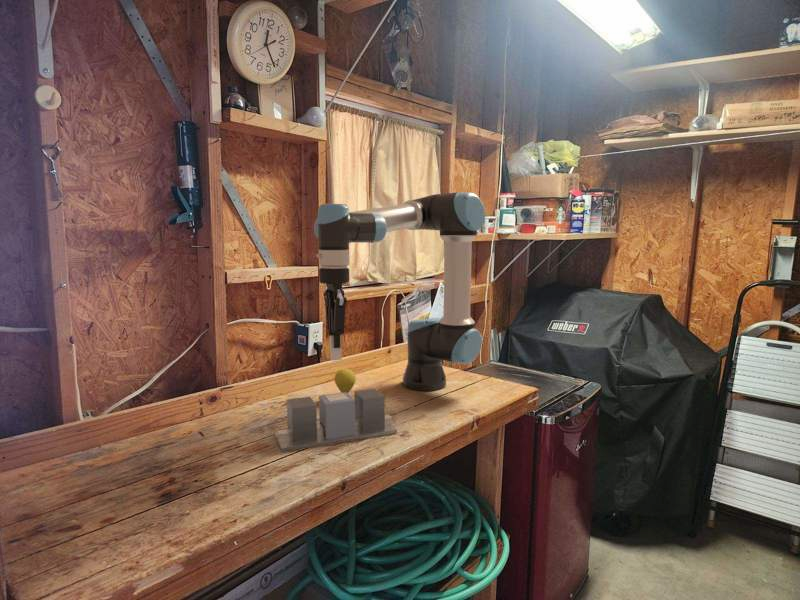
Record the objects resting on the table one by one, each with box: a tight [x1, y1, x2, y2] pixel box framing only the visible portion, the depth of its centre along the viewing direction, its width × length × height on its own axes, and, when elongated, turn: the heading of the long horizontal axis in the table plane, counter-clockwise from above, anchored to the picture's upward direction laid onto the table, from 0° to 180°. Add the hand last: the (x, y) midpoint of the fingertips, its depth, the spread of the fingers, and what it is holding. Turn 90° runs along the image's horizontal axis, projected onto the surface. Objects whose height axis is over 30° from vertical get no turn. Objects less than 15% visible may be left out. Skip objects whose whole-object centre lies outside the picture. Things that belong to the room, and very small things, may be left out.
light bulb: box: [334, 368, 357, 396], centre depth 156 cm, size 7×7×10 cm
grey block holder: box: [274, 388, 398, 453], centre depth 129 cm, size 30×10×10 cm, turn 113°
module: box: [318, 392, 355, 439], centre depth 129 cm, size 8×7×9 cm
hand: (335, 359), depth 127 cm, fingers closed
